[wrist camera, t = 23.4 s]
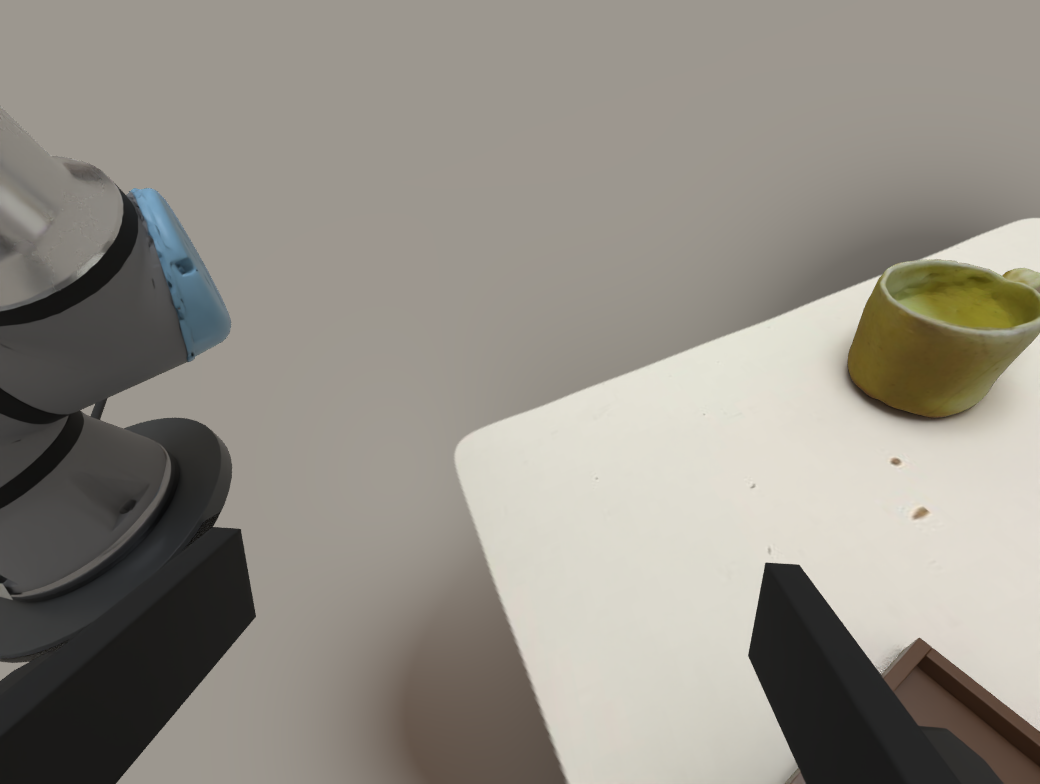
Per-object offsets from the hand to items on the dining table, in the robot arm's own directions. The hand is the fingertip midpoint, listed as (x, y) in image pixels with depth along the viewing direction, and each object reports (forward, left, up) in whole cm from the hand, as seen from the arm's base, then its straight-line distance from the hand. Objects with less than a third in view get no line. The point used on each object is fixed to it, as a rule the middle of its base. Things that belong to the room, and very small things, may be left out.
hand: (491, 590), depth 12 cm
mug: (-2, +37, -20) cm, 42 cm away
